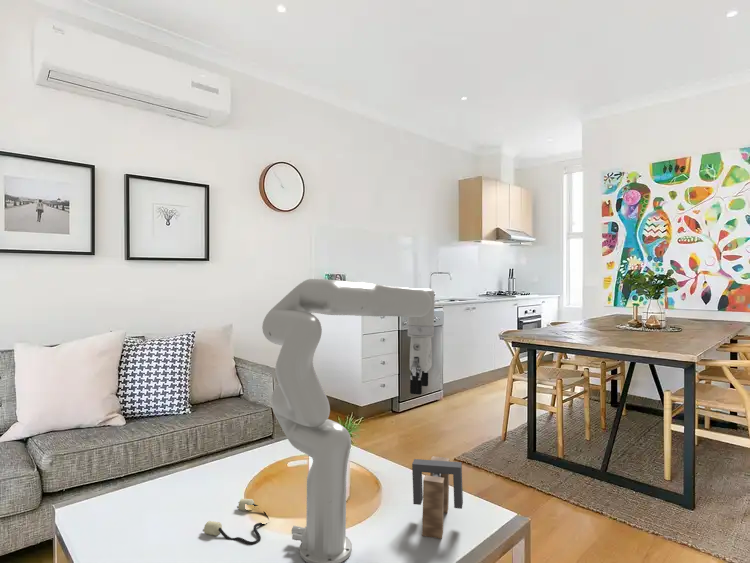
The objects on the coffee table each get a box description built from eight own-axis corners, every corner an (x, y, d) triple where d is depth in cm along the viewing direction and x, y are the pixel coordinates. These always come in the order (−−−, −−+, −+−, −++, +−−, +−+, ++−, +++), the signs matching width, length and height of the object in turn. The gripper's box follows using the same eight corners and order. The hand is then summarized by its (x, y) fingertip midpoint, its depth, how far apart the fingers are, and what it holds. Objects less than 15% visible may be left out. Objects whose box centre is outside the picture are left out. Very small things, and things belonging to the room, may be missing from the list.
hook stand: (422, 535, 120) (423, 480, 120) (431, 505, 135) (432, 456, 135) (441, 538, 119) (442, 482, 118) (448, 507, 134) (449, 458, 134)
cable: (288, 517, 129) (288, 505, 128) (251, 551, 113) (251, 537, 113) (241, 505, 134) (242, 494, 134) (201, 535, 119) (201, 522, 119)
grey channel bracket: (413, 504, 127) (412, 464, 127) (415, 498, 130) (414, 458, 130) (461, 508, 123) (460, 467, 123) (462, 502, 127) (461, 462, 127)
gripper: (428, 335, 125) (426, 398, 126) (438, 328, 142) (437, 384, 142) (400, 334, 127) (399, 396, 128) (414, 326, 144) (413, 381, 144)
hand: (419, 389), depth 135 cm, fingers open, 9 cm apart
